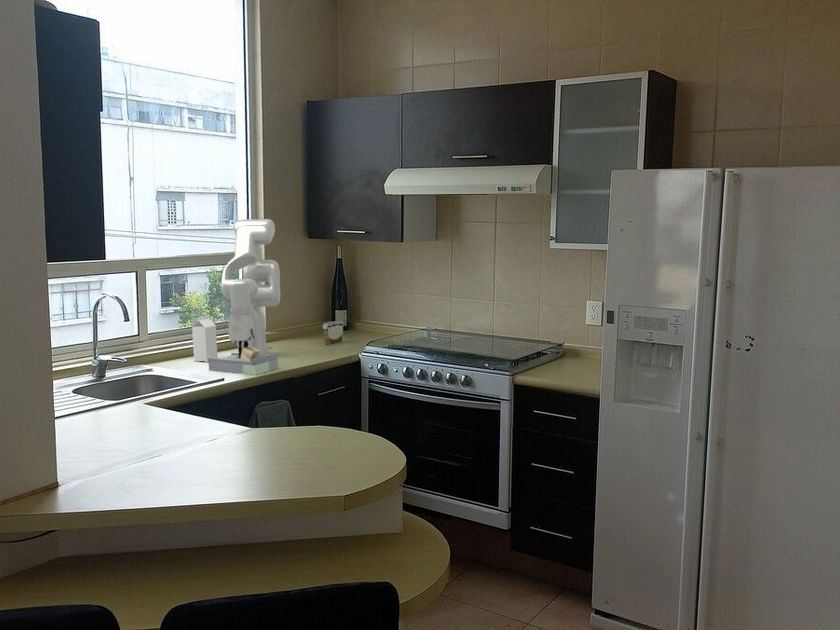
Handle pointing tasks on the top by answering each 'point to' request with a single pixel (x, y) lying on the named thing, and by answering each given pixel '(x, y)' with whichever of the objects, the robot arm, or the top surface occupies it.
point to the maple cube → (249, 354)
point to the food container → (333, 332)
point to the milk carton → (204, 339)
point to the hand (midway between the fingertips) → (243, 357)
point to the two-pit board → (244, 364)
